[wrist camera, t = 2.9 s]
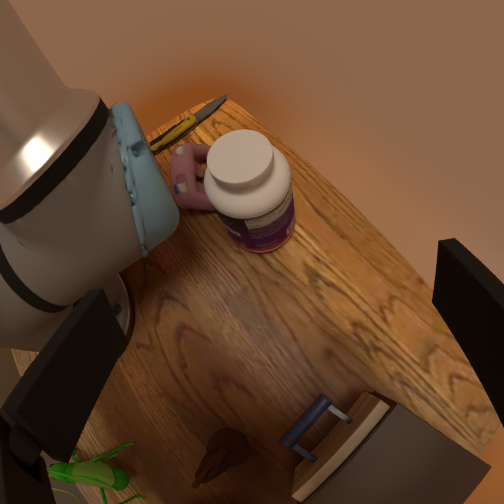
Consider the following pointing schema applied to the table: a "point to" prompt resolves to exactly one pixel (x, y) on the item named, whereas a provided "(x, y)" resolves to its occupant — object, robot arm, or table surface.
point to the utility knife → (184, 126)
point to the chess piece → (221, 455)
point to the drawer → (331, 440)
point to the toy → (93, 474)
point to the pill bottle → (251, 190)
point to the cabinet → (403, 466)
